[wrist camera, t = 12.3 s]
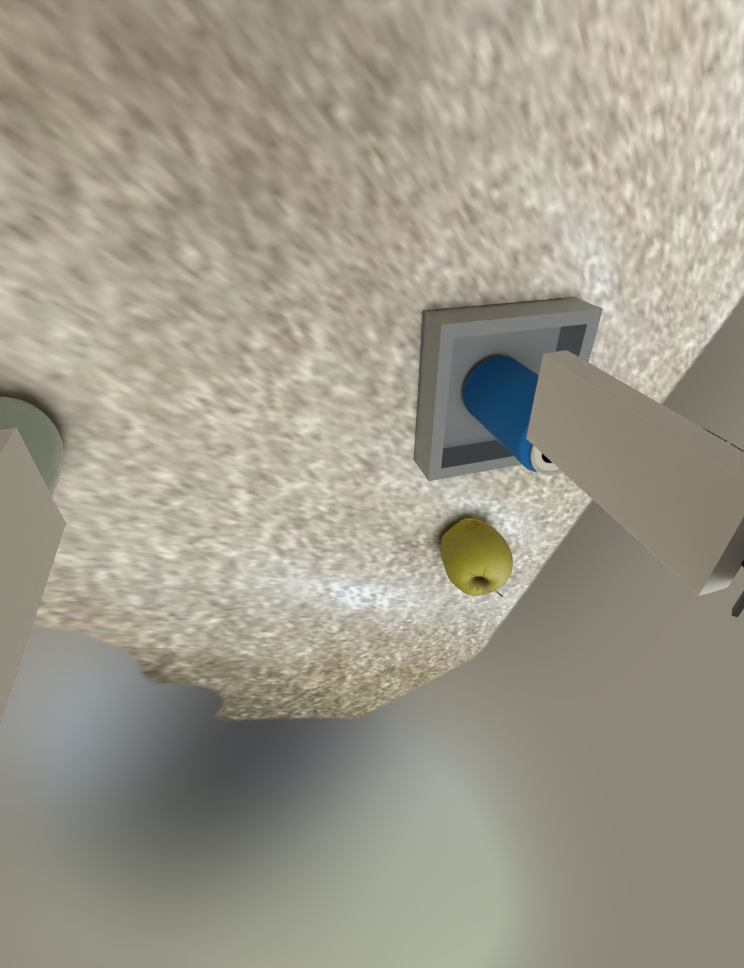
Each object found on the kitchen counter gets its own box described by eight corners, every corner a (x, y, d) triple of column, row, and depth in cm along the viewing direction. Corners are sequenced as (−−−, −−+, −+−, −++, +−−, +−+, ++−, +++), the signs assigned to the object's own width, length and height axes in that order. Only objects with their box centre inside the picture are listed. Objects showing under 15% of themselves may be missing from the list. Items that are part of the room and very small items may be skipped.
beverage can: (446, 393, 46) (511, 457, 37) (494, 339, 44) (575, 392, 35) (485, 426, 50) (553, 492, 40) (531, 377, 48) (613, 434, 39)
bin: (422, 310, 41) (441, 324, 38) (574, 297, 45) (602, 308, 42) (414, 460, 50) (428, 481, 47) (541, 438, 54) (562, 456, 51)
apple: (507, 505, 57) (542, 581, 51) (475, 542, 63) (503, 614, 57) (449, 503, 54) (478, 583, 48) (421, 541, 60) (444, 617, 54)
